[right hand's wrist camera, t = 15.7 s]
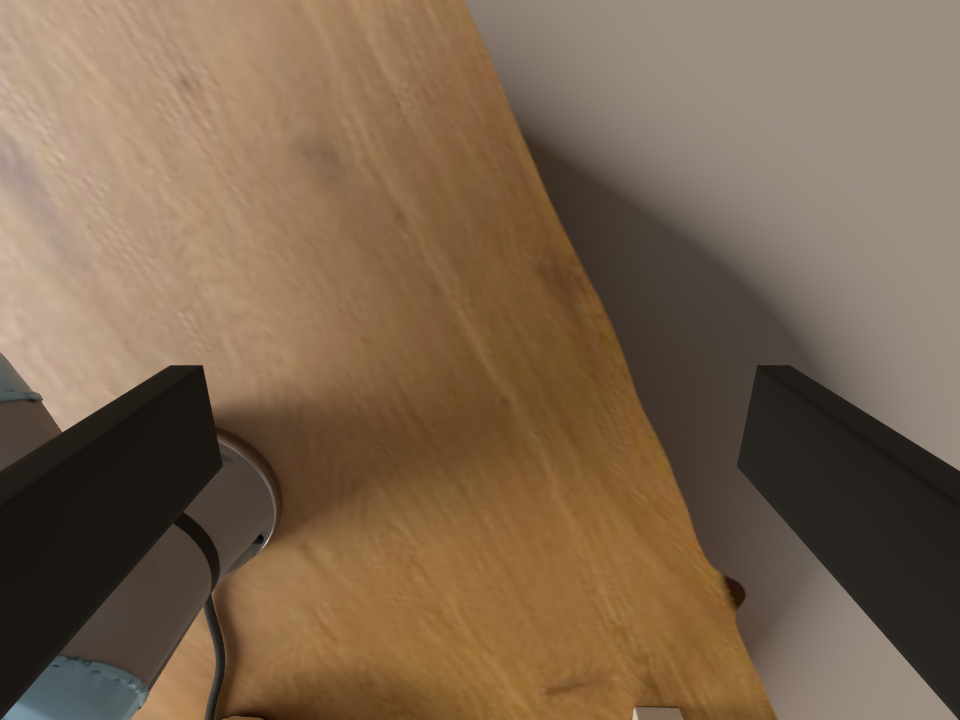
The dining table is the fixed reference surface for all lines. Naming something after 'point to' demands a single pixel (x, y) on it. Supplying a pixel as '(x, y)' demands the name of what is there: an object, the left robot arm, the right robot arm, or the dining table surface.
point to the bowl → (242, 718)
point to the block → (656, 713)
